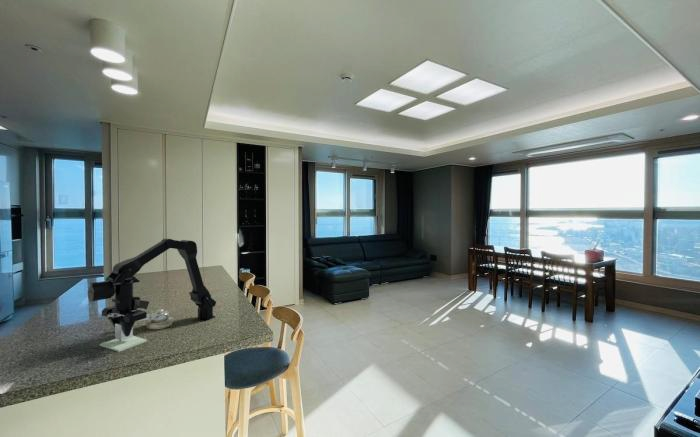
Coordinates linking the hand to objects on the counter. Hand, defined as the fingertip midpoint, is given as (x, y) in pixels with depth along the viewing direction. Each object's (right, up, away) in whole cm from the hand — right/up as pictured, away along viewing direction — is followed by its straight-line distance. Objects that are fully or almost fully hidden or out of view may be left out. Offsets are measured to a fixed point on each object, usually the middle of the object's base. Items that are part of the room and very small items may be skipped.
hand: (124, 335), depth 113 cm
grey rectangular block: (0, -1, 0) cm, 1 cm away
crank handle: (-3, -1, +16) cm, 17 cm away
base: (+2, -3, +19) cm, 19 cm away
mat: (0, -3, 0) cm, 3 cm away
